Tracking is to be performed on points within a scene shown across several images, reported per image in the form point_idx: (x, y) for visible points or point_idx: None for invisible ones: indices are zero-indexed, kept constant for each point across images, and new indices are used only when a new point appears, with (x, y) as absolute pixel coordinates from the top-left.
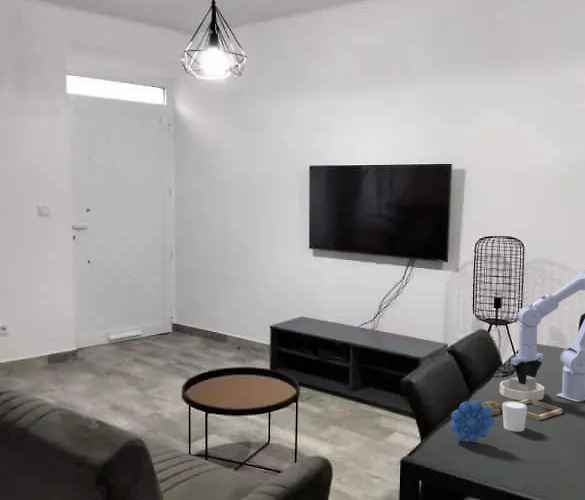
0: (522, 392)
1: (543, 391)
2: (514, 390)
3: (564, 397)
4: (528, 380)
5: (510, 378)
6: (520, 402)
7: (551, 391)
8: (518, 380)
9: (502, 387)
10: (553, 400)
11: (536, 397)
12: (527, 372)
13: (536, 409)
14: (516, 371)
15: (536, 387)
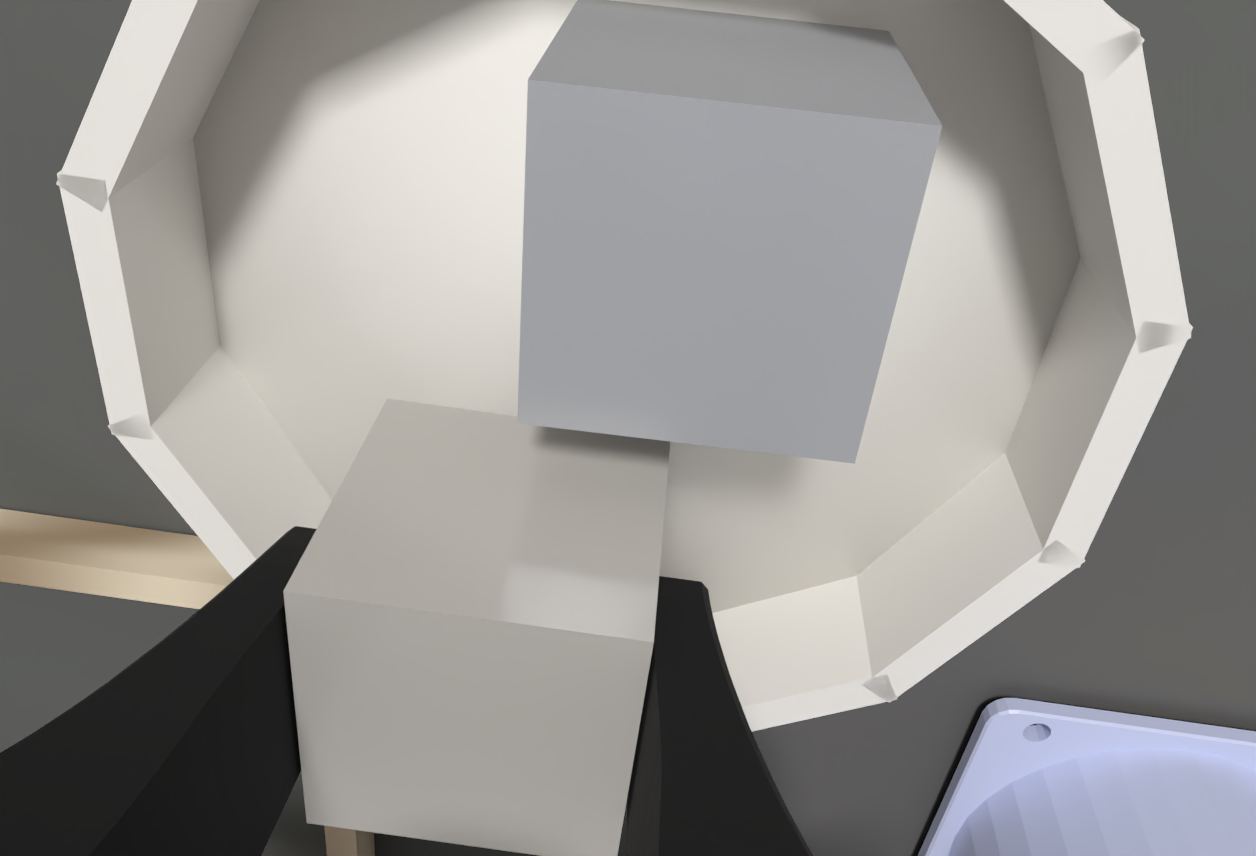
0: (235, 566)
1: None
2: (144, 441)
3: (945, 809)
4: (315, 802)
5: (550, 98)
6: (48, 580)
7: (1251, 556)
8: (257, 562)
9: (111, 84)
10: None
11: None
12: (656, 749)
13: None
14: (33, 755)
15: (1030, 461)
